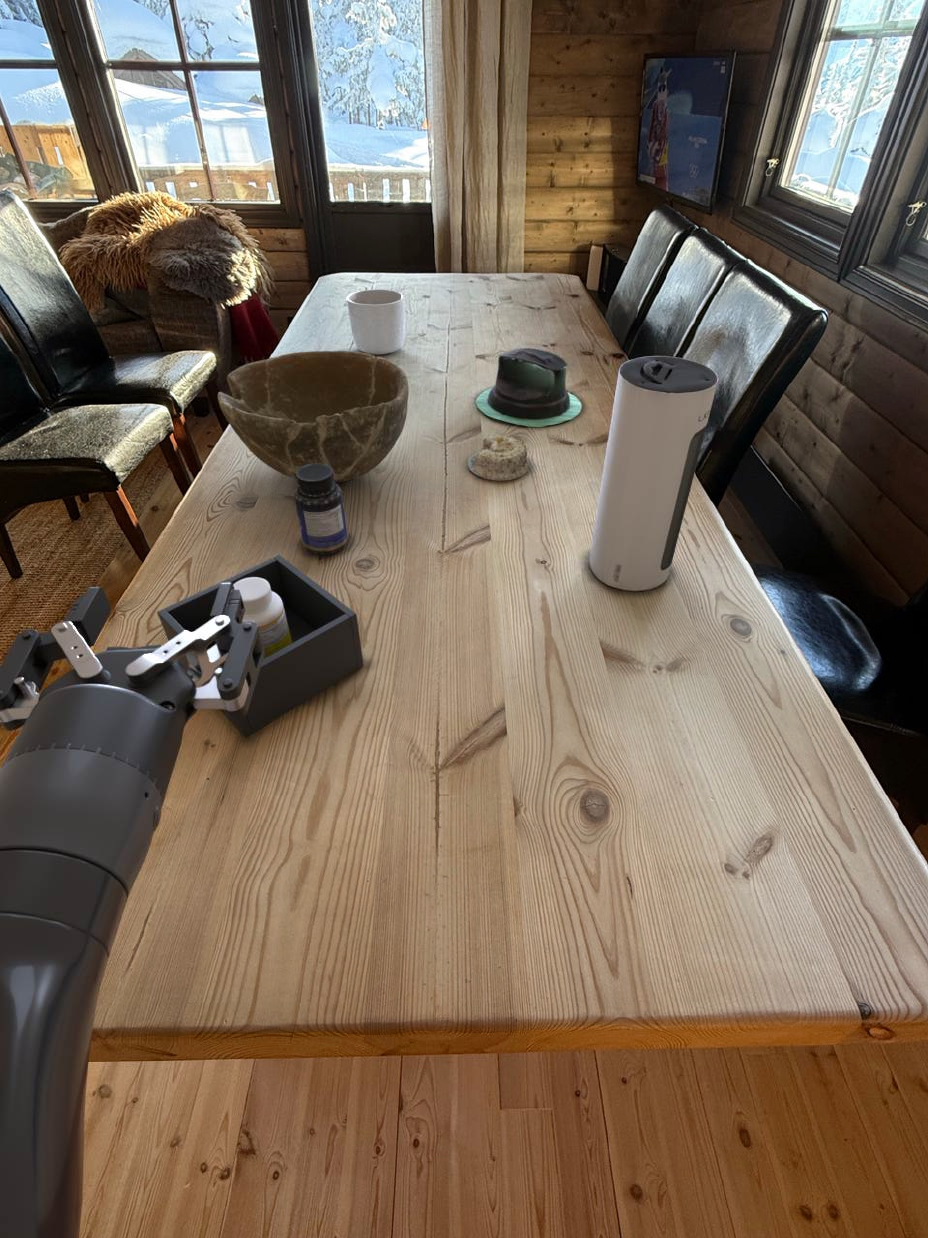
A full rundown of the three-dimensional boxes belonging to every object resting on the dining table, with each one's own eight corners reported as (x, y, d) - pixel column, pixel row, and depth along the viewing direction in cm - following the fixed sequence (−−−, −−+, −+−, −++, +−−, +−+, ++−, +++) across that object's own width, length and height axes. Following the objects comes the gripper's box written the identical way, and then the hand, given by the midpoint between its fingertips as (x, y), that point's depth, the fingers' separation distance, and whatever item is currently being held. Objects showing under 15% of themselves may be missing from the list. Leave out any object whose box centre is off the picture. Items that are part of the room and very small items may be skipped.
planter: (377, 362, 142) (372, 308, 135) (341, 349, 149) (334, 297, 141) (418, 348, 149) (416, 296, 142) (382, 335, 155) (378, 285, 148)
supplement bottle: (238, 654, 73) (215, 581, 66) (287, 638, 75) (269, 565, 68) (250, 686, 69) (227, 612, 63) (301, 669, 71) (284, 595, 64)
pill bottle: (309, 531, 92) (296, 459, 85) (352, 532, 92) (342, 460, 85) (299, 556, 88) (284, 483, 81) (344, 557, 88) (333, 484, 80)
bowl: (219, 519, 95) (190, 420, 85) (257, 436, 115) (237, 349, 105) (410, 516, 95) (404, 417, 86) (415, 434, 116) (410, 346, 106)
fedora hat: (600, 390, 128) (567, 434, 115) (520, 418, 139) (481, 461, 126) (571, 314, 122) (532, 351, 108) (489, 351, 133) (445, 388, 120)
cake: (528, 456, 111) (533, 426, 107) (527, 486, 103) (532, 455, 100) (470, 449, 111) (473, 418, 107) (464, 479, 103) (467, 447, 100)
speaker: (646, 604, 80) (696, 395, 63) (572, 573, 85) (599, 371, 68) (681, 563, 87) (735, 363, 70) (610, 536, 91) (644, 343, 74)
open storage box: (245, 738, 65) (227, 686, 60) (177, 663, 73) (156, 611, 68) (363, 665, 72) (356, 613, 67) (290, 604, 80) (279, 554, 75)
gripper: (208, 745, 30) (262, 545, 43) (-116, 762, 30) (33, 552, 42) (242, 833, 35) (281, 631, 48) (-35, 850, 34) (77, 639, 47)
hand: (165, 594), depth 45 cm, fingers open, 8 cm apart
